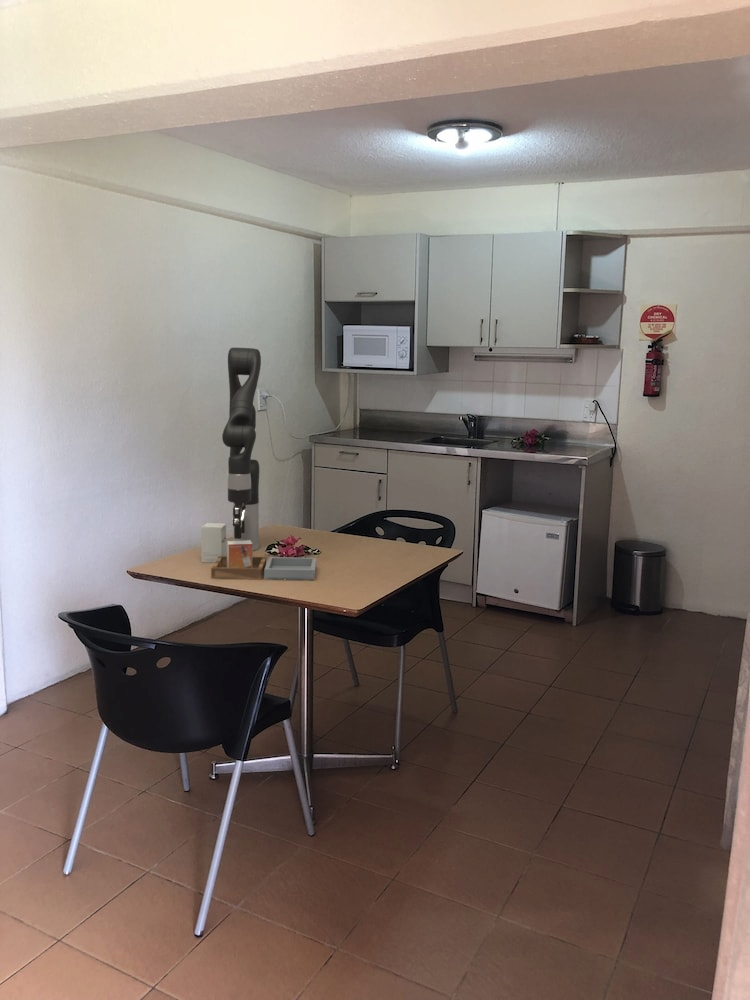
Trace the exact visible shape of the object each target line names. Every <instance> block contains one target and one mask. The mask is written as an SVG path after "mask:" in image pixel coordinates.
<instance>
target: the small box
mask: <svg viewBox="0 0 750 1000" xmlns="http://www.w3.org/2000/svg"><path fill="white" fill-rule="evenodd" d="M253 551H254V550H253V544H252V542H251V540H244V541H234V540H226V556H227V567H226V568H252V557H253Z"/></svg>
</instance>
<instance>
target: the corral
mask: <svg viewBox="0 0 750 1000" xmlns="http://www.w3.org/2000/svg"><path fill="white" fill-rule="evenodd" d="M266 564H267V556H252V568H227V555H226V556H219V557H218V559H217V560H216V562H215V563H213V564H212V566H211V568H210V572H211V574H210V575H211V576H210V578H220V579H219V580H245V579H249V581H252V580H253V581H254V580H255V581H256V580H257V581H261V580H262V579H263V577H264V569H265V567H266Z"/></svg>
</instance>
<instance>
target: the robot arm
mask: <svg viewBox="0 0 750 1000" xmlns="http://www.w3.org/2000/svg"><path fill="white" fill-rule="evenodd" d="M261 364H262V356H261V352H260V350H259V349H257V348H253V347H230V349H229V350H228V353H227V370H228V384H229V411H228V412H229V413H228V415H229V417H228V420H227V423H226V424H225V426H224V428H223V432H222V436H221V437H222V439H221V440H222V442H223V444H224V445H225V447H227V448H229V456H228V461H227V462H228V463H227V464H228V475H227V476H228V477H227V500H228V502H229V503H233V505H232V506H233V507H232V527H233V541H244V540H251V542H252V544H253V550H252V551H256V550H258V549H259V548H260V547H259V546H260V542H259V541H260V539H259V538H260V535H259V534H260V531H259V528H260V527H259V526H260V525H259V524H260V523H259V521H260V516H259V515H260V513H259V504H260V499H259V496H260V495H259V489H260V488H259V487H260V485H259V482H260V463H259V461H258V460H257V459H251V458H252V452H253V449H254V446H255V443H256V437H257V432H256V427H257V426H256V425H257V418H256V417H257V416H256V415H257V413H256V412H257V411H256V410H257V409H256V407H255V405H254V401H255V400H254V399H255V395H256V390H257V386H258V382H259V378H260V377H259V376H260V374H261V367H262V365H261ZM239 376H248V378H247V380H246V381H245V382H244V383H243V384H242V383H241V382H240V381H241V380H240V378H239ZM243 448H244V450H243ZM242 450H243V451H242Z"/></svg>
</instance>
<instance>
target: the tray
mask: <svg viewBox="0 0 750 1000" xmlns="http://www.w3.org/2000/svg"><path fill="white" fill-rule="evenodd" d="M316 571H317V557H292V556H291V557H289V556H287V557H286V556H284V557H283V556H282V557H281V556H280V557H279V556H269V557H268V559H267V560H266V567H265V569H264V574H263V577H264V580H265V581H270V580H269V579H279V580H278V581H304V580H314V581H315V577H316ZM281 579H282V580H281ZM284 579H286V580H284Z"/></svg>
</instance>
